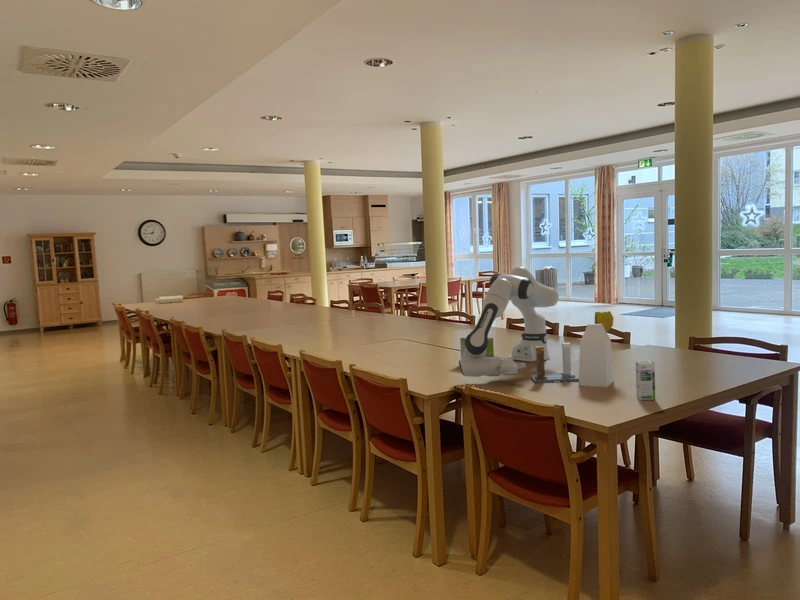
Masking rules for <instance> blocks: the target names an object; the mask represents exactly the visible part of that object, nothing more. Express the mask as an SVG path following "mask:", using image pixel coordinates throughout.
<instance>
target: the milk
mask: <svg viewBox="0 0 800 600" xmlns="http://www.w3.org/2000/svg"><path fill="white" fill-rule="evenodd" d="M578 367H579V369H578V377H579V381H578V385H579V384H583V385H582V386H586V385H595V386H594V387H598V386H604V387H603V388H608V387H609V386H610V385H612V384H613V383H614V382H615V379H614V378H615V377H614V368H613V351H612V340H611V338H610V336H609V334H608V332H606V331H605V329H604V327H603V325H602V324H595V323H588V324H587V325H586V327H585V331H584V332H583V335H582V337H581V338H580V342H579V365H578ZM613 381H614V382H613ZM612 382H613V383H612Z"/></svg>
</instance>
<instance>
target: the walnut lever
mask: <svg viewBox="0 0 800 600" xmlns="http://www.w3.org/2000/svg"><path fill="white" fill-rule="evenodd" d="M535 347H536V361H535V362H536V374H537V376H535V378H536V379H547V376H546V375H545V360H544V346H535Z"/></svg>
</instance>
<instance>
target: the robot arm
mask: <svg viewBox="0 0 800 600" xmlns="http://www.w3.org/2000/svg"><path fill="white" fill-rule="evenodd" d="M488 287H489V288H488V290H487V293H486V295H485V296H484V298H483V299H484V300H483V302H482V307H481V315H480V317H479V319H478V321H477V323H476V326H475V327H474V329H473V330H472V331H471V332H469V333H468V335H467V336H465V337H466V340H465V346H466V347H465V350H464V353H463V355H462V357H461V356H460V358H459V360H458V365H459V366H458V367H459V371H460V373H461V375H462V376H463V377H471V378H479V377H500V374H501V375H517V374H518V373H519V370H520V369H526V368H527V364H526V363H525V362H537V361H536V347H535V346H544V361H546V360H550V358H551V357H550V354H549V349H548V344H547V343H548V333H547V326H546V322H547V321H546V318H545V317H544V316H543V314H541V313H538V312H537V311H536V309H535V308H549V307H550V308H551V307H554V306H556V305H557V303H558V302H559V298H560V296H559V293H558V290H557V289H556V288H554V287H552V286H551V287H550V286H548V285H545V284H543V283H541V282H539V281H537V280H536V278H535V277H534V276H533V274H532V273H531V272H530V271H529V269H527V268H525V267H524V266H516V267H513V269H511V271H510V274H507V273H505V274H503V273H500V272H499V273H494V274H493V275H492V276H490V278H489V282H488ZM510 301H511V304H512V305H513V306H514V307H516V308H517V309H518V311H520V313H521V315H522V318H523V323H524V332H523V333H522V334H521V335H520V337H521V338H522V339H521V340H519V341H518V342H517V343H516V344H515V345H513V347H512V349H511V354H509V355H507V357H500V356H495V355H494V356H493V357H486V356H485V353H486V349H487V345H488V336H489V332H490V330H491V329H492V328H491V327H492V325H493V323H494V322H495V320H496V319H498V318H500V317H502V316H503V314H504V312H505V311H506V309H507V306H508V304H509V302H510ZM516 360H517V361H523V362H515V361H516Z"/></svg>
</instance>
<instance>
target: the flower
mask: <svg viewBox="0 0 800 600" xmlns="http://www.w3.org/2000/svg"><path fill="white" fill-rule="evenodd" d="M594 324H602V325H603V327H604V329H605V331H606V333H608V332H610V330H611V329H612V327H614V326H613V325H614V315H613V313H612V312H611V310H610V311H603V312H601V311H595V312H594Z"/></svg>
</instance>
